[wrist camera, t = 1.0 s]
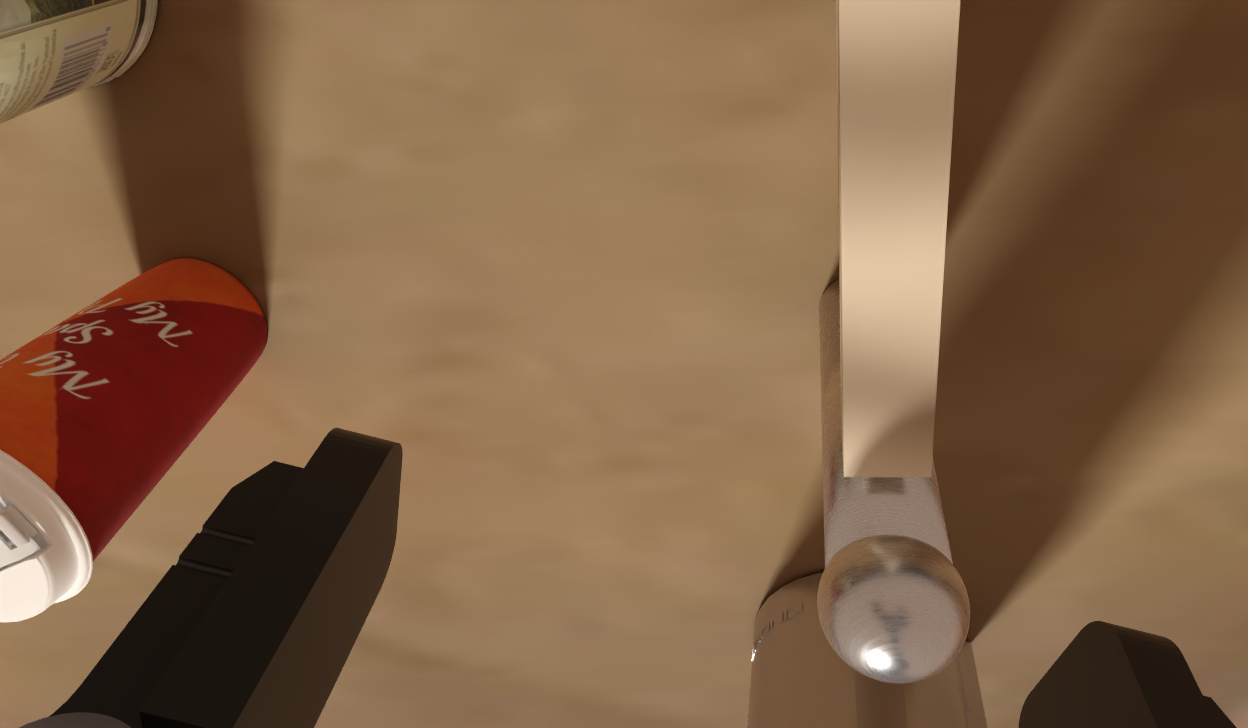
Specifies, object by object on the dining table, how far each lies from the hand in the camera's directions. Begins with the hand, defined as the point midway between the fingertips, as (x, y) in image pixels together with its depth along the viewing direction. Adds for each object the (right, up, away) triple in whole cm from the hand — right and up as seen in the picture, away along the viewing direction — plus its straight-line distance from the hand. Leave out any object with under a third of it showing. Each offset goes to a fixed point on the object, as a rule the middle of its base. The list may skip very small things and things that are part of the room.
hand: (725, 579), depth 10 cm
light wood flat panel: (+6, +13, +15) cm, 20 cm away
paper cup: (-19, +5, +27) cm, 34 cm away
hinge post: (+8, +5, +21) cm, 23 cm away
